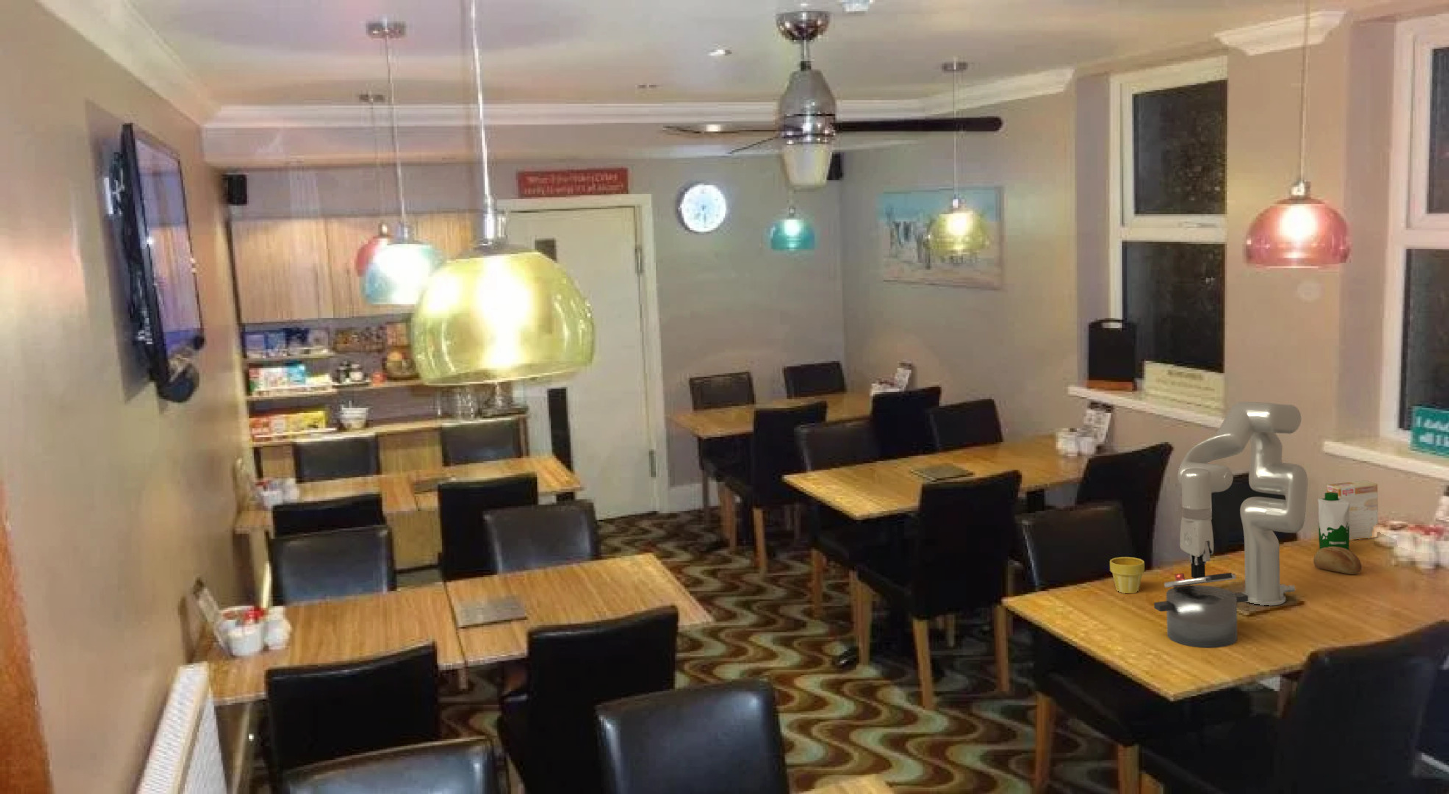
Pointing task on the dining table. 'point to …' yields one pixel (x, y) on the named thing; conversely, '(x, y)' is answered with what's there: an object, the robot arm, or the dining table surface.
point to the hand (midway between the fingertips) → (1198, 577)
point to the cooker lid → (1198, 579)
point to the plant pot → (1127, 573)
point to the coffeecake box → (1359, 506)
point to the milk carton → (1333, 521)
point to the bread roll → (1337, 560)
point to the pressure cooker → (1201, 615)
